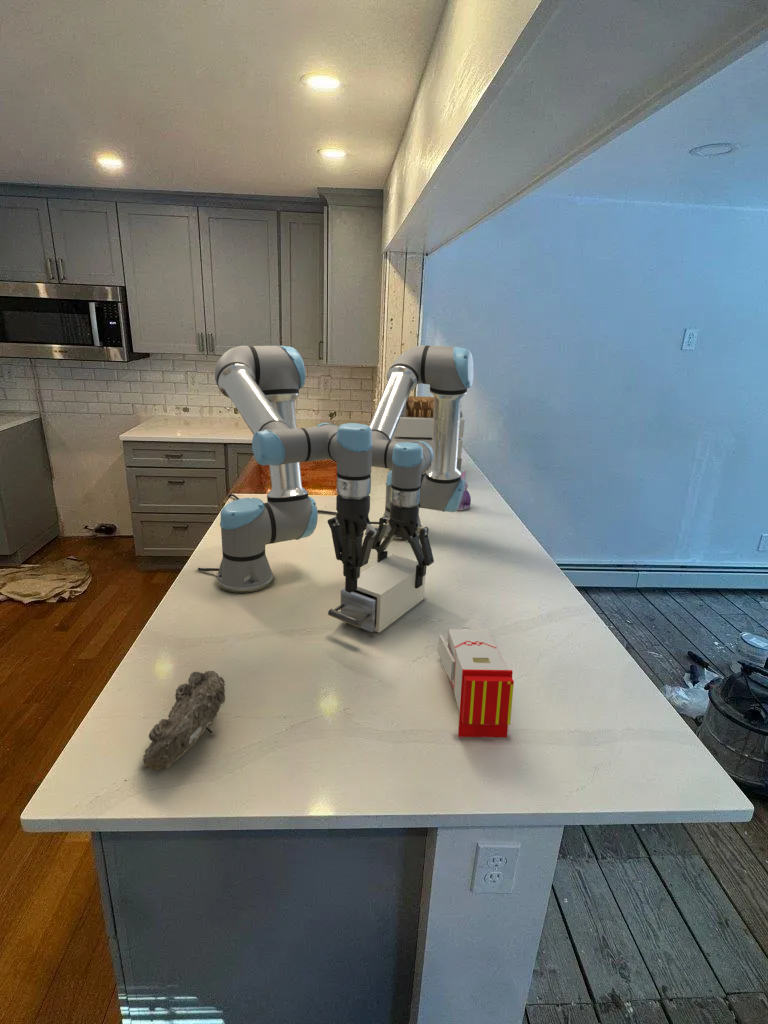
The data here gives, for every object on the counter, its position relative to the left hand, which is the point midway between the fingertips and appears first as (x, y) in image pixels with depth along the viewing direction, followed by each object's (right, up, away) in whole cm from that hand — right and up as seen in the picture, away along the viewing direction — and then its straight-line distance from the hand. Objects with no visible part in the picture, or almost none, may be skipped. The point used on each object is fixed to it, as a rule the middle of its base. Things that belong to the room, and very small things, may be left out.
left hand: (351, 589), depth 133 cm
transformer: (+25, +37, +142) cm, 148 cm away
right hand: (+12, 0, +20) cm, 23 cm away
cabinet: (+8, -7, +17) cm, 20 cm away
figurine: (+39, +20, +96) cm, 105 cm away
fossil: (-28, -22, -29) cm, 46 cm away
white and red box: (+26, -19, -15) cm, 35 cm away
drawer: (+5, -8, +12) cm, 15 cm away
